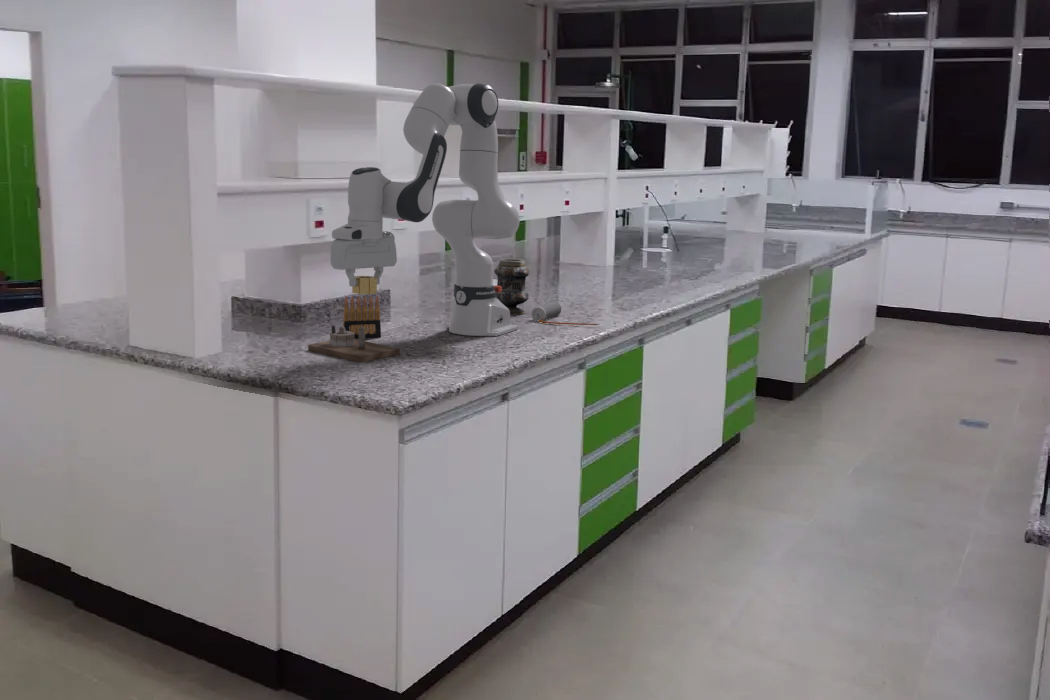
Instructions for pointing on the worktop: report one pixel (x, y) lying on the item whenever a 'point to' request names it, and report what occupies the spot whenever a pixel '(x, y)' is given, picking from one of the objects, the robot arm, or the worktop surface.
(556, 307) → the motor
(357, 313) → the ammunition clip
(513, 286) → the apothecary jar
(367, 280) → the octagonal hollow tube
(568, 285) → the worktop surface
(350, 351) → the gear board
